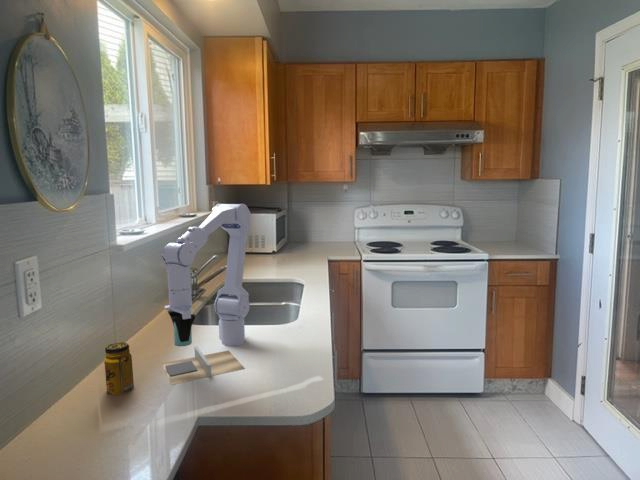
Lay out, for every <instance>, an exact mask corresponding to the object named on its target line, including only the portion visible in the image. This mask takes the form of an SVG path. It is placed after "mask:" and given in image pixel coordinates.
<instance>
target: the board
mask: <svg viewBox="0 0 640 480" xmlns="http://www.w3.org/2000/svg"><path fill="white" fill-rule="evenodd" d="M203 355H204V356H205V358H206V359H207V360H208V362H209V363H210V365H211V376H209V377H208V376H207V374H206V373H205V371H204V370H203V368H202V367H201V365H200V364H199V362H198V361H197V359H196V358H195V356H193V357H188V358H181V359H178V360H173V361H168V362H163V363H161V365H162V368H163V370H164V372H165V374H166V376H167V378H168V380H169V382H170V384H171V385H172V386H173V385H178V384H182V383H186V382H192V381H196V380H200V379H204V378H210V377H215V376H219V375H222V374H223V375H224V374H228V373H232V372H237V371H242V370H245V369H246V368H245V367H244V366H243V365H242V364H241V362H240V361H239V360H238V358H236V357H235V356H234V355H233V354H232V352H231V351H230V350H228V349H227V350H225V351H224V350H223V351H219V352H213V353H208V354H203ZM188 361H192V362H193V364H194V365H195V367H196V368H197V371H195V372H190V373H185V374H180V375H176V376H171V377H170V376H169V373H168V371H167V369H166V367H165V366H167V365H172V364H177V363H182V362H188Z"/></svg>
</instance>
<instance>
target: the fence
mask: <svg viewBox="0 0 640 480" xmlns="http://www.w3.org/2000/svg"><path fill="white" fill-rule="evenodd" d="M204 355H205V354H203V352H202V351H201V350H200V348H199V346H194V357H195V358H196V359H197V361H198V362H199V364H200V365H201V367H202V368H203V370H204V371H205V373H206V374H207V376H208V377H207V378H210V377H212V376H211V365H210V363H209V362H208V360H207V359H206V358H205V356H204ZM209 376H210V377H209Z"/></svg>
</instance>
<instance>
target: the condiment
mask: <svg viewBox="0 0 640 480" xmlns="http://www.w3.org/2000/svg"><path fill="white" fill-rule="evenodd" d="M104 351H105V358H104V362H103V363H104V371H105V374H104V375H105V385H106V392H107V394H108V395H114V396H115V395H117V396H118V395H123V394H126V393H128V392H131V391H132V390H134V387H135V385H134V384H135V383H134V370H133V357H132V354H131V353H130V351H131V350H130V345H129V343H127V342H122V341H121V342H114V343H111V344H110V343H109V344H108V345H107V346H105V350H104Z"/></svg>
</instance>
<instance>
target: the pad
mask: <svg viewBox="0 0 640 480" xmlns="http://www.w3.org/2000/svg"><path fill="white" fill-rule="evenodd" d="M165 367H166V369H167V371H168V373H169V376H170V377H171V376H176V375H180V374H185V373H190V372H195V371H197V368H196V367H195V365H194V364H193V362H192V361H188V362H182V363H177V364H172V365H167V366H165Z"/></svg>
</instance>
